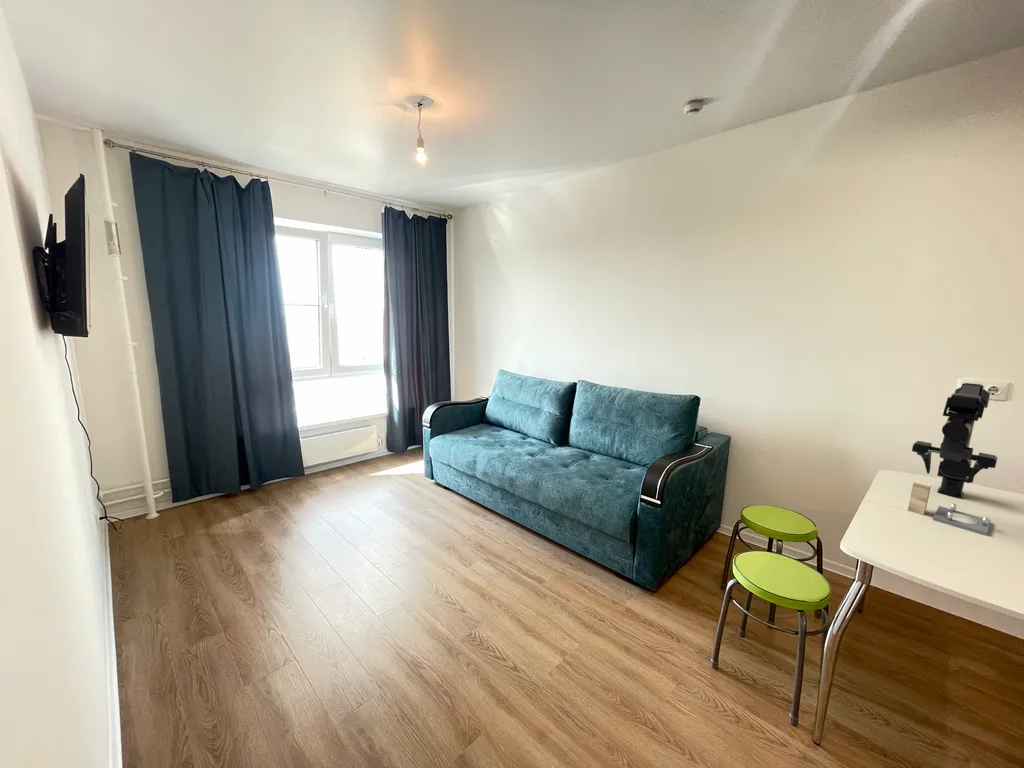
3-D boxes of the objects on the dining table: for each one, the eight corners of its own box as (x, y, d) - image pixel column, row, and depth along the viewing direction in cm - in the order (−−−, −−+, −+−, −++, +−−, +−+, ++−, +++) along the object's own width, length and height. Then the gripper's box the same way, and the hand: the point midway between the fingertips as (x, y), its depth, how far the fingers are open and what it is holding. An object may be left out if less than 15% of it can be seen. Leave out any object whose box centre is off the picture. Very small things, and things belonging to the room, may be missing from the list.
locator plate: (938, 508, 145) (940, 499, 144) (989, 522, 136) (992, 512, 135) (932, 519, 138) (934, 510, 137) (986, 535, 128) (989, 525, 128)
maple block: (909, 506, 146) (915, 480, 144) (925, 511, 143) (931, 484, 141) (907, 510, 144) (913, 484, 142) (923, 514, 141) (929, 488, 139)
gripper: (913, 431, 135) (904, 475, 138) (1000, 446, 121) (987, 495, 124) (919, 424, 142) (911, 466, 145) (1002, 438, 128) (990, 484, 131)
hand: (947, 477), depth 136 cm, fingers open, 9 cm apart
